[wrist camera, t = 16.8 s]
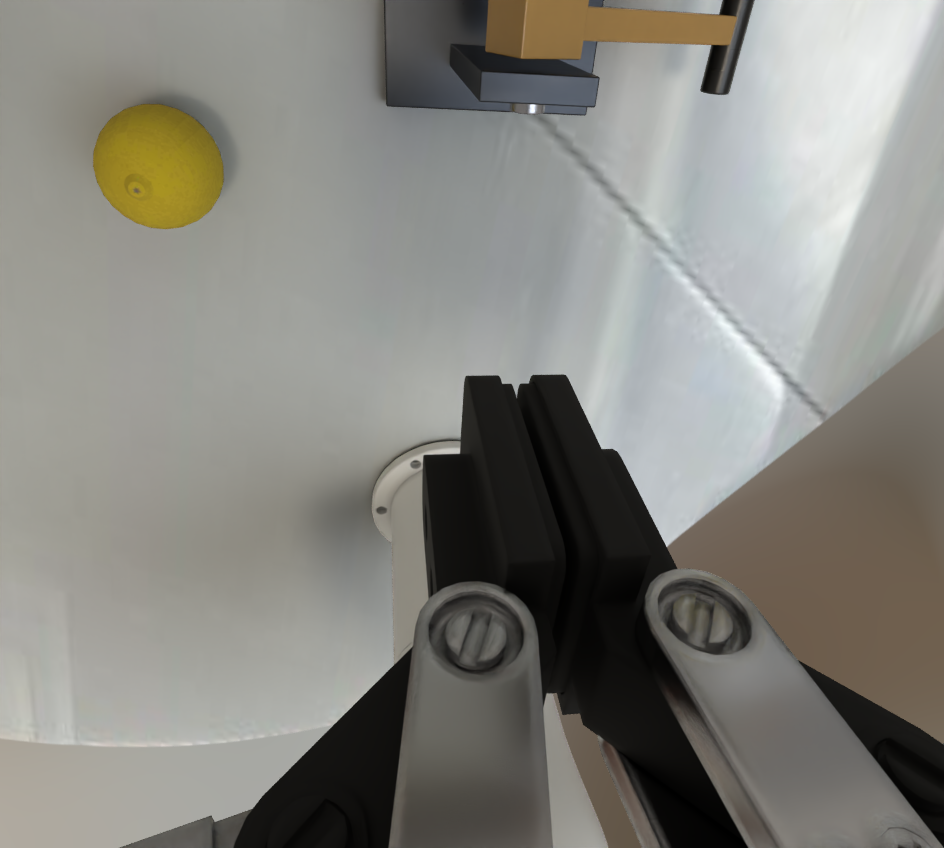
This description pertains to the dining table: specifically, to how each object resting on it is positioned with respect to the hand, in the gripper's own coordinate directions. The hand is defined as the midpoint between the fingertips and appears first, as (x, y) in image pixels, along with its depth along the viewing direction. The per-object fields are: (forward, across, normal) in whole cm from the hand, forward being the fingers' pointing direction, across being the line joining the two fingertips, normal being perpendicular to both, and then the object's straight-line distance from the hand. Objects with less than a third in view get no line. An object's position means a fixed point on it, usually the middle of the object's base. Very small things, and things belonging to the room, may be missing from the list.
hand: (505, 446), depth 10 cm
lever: (+21, -8, -6) cm, 23 cm away
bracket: (+29, -4, -6) cm, 30 cm away
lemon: (+29, +13, +2) cm, 32 cm away
